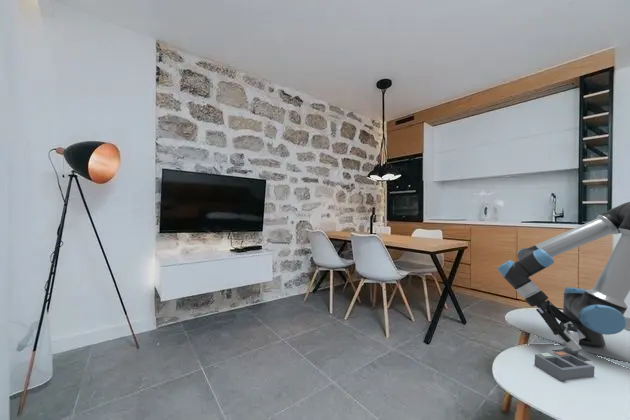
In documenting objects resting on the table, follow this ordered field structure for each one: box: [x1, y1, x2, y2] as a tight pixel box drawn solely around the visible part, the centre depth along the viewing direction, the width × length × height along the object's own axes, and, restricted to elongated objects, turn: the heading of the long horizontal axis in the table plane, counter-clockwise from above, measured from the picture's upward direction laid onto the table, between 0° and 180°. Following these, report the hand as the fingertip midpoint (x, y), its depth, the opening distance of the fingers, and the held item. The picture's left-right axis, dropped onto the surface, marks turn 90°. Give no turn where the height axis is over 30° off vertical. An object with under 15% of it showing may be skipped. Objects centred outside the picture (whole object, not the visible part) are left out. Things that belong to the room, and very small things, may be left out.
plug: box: [563, 324, 580, 358], centre depth 100 cm, size 4×4×12 cm
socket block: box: [533, 351, 595, 382], centre depth 91 cm, size 14×9×4 cm, turn 101°
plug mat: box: [551, 348, 592, 362], centre depth 100 cm, size 8×8×1 cm
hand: (580, 344), depth 98 cm, fingers open, 13 cm apart
